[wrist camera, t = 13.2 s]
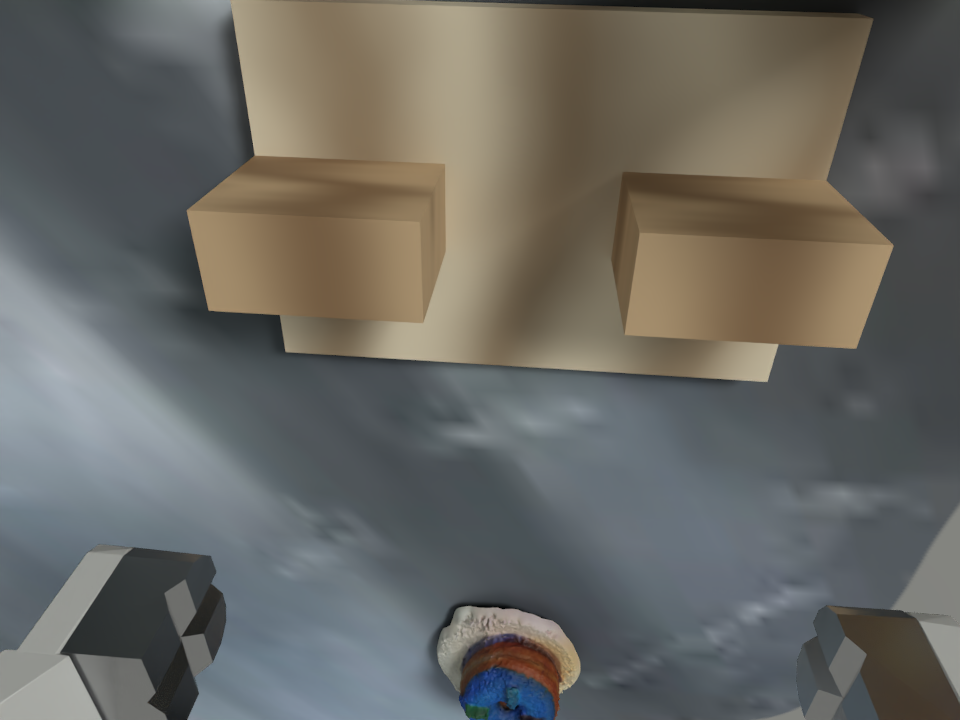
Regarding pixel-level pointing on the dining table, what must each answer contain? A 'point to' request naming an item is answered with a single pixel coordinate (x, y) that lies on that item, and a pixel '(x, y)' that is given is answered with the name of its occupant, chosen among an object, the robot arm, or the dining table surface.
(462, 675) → the dessert
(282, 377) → the dining table surface
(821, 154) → the wooden board with blocks
